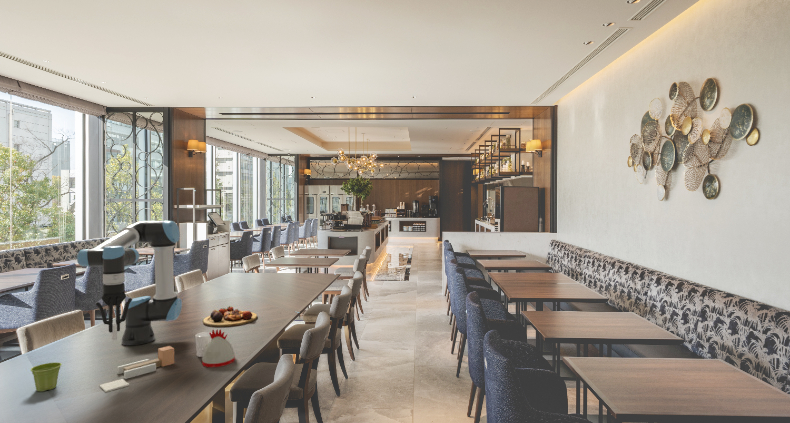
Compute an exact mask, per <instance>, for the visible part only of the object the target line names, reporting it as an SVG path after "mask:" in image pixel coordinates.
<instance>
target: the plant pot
mask: <svg viewBox="0 0 790 423" xmlns="http://www.w3.org/2000/svg"><path fill="white" fill-rule="evenodd" d="M62 364H63V363H61V362H58V361H57V362H47V363H43V364H38V365H35V366H32V367H31V368H30V372H31V373H32V375H33V379H34V385H35V389H36V390H35V391H36V392H46V391H47V390H54V389H55V388H56V387H57V385H58V384H57V383H58V379H59V373H60V370H61V367H62Z"/></svg>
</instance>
